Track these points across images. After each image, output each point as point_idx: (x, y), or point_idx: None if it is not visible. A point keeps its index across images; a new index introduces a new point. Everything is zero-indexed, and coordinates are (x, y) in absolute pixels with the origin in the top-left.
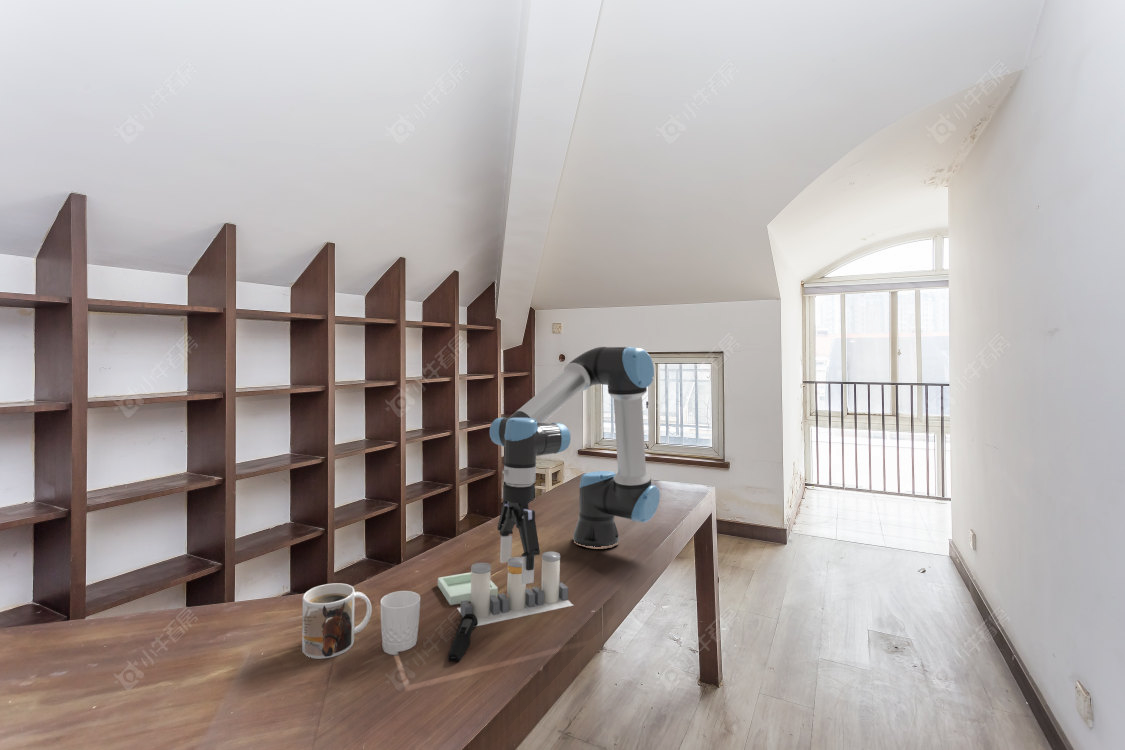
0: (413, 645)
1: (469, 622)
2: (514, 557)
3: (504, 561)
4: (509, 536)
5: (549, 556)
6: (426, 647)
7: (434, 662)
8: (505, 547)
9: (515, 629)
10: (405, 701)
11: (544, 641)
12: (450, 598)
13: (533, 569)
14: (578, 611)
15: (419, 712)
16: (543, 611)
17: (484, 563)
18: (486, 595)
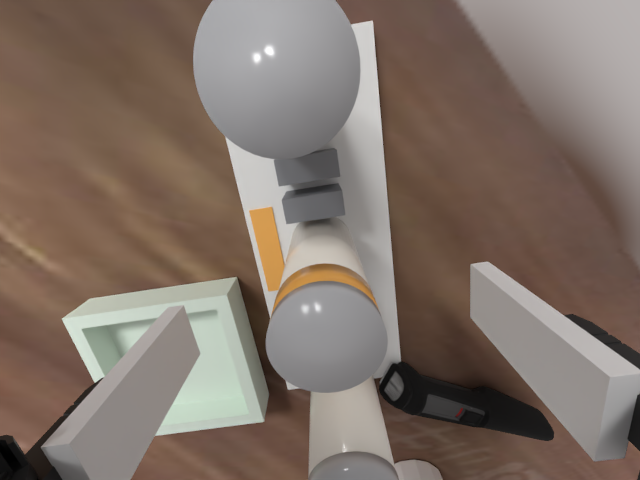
0: (434, 472)
1: (437, 401)
2: (273, 350)
3: (193, 342)
4: (82, 461)
5: (310, 101)
6: (432, 444)
7: (494, 435)
8: (151, 404)
9: (434, 265)
10: (584, 475)
11: (531, 205)
12: (263, 417)
13: (535, 299)
14: (398, 13)
15: (625, 460)
16: (383, 163)
17: None
18: (373, 382)
